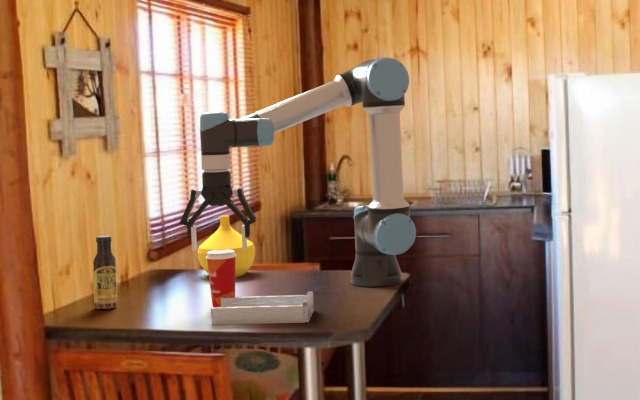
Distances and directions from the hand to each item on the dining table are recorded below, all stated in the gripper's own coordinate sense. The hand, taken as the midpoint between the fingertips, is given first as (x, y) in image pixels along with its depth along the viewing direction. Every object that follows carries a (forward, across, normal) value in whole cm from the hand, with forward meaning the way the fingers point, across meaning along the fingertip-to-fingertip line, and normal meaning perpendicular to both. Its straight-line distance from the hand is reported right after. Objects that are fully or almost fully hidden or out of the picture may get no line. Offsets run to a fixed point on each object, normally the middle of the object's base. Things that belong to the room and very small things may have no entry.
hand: (219, 250), depth 251 cm
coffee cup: (+16, 0, 0) cm, 16 cm away
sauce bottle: (+16, +32, -2) cm, 36 cm away
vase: (+16, +8, -47) cm, 50 cm away
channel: (+15, -14, +14) cm, 25 cm away
